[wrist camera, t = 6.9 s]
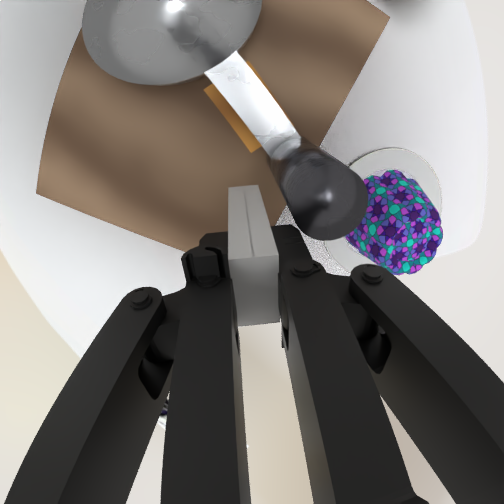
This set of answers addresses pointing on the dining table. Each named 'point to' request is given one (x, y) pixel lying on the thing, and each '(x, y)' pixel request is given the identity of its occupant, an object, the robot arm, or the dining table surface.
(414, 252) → the pudding
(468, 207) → the dining table surface
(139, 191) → the wooden cutting board
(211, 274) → the robot arm
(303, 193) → the steel serving spoon
